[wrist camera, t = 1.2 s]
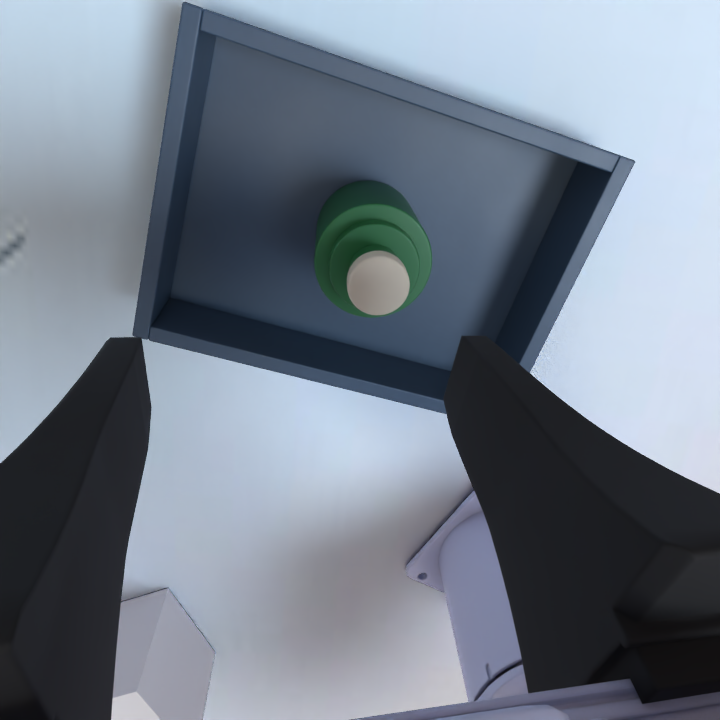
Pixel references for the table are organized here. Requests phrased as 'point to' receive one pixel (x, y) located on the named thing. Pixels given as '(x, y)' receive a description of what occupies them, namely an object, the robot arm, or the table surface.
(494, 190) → the tray
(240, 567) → the table surface
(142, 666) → the white cube
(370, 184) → the bottle
